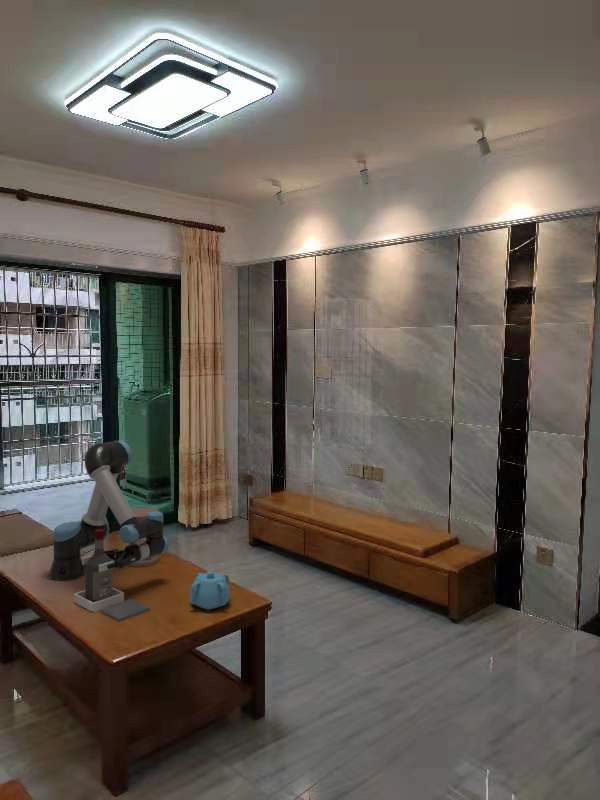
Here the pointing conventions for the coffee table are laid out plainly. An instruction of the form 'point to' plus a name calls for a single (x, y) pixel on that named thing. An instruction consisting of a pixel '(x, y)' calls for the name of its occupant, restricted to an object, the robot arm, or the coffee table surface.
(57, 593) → the coffee table surface
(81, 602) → the bottle holder
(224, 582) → the decorative pot
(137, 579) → the coffee table surface
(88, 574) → the liquor
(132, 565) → the hourglass
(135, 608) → the slate coaster
